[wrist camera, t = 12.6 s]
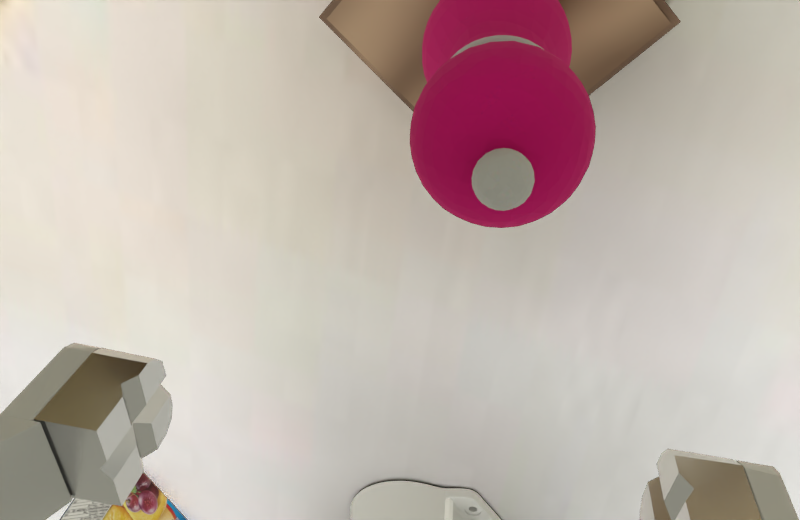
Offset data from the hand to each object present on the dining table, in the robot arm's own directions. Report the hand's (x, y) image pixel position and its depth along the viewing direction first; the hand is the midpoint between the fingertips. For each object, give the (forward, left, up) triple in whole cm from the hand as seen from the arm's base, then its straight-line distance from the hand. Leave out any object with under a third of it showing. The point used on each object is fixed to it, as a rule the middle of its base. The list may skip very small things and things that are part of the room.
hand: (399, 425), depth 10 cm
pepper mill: (-1, 0, -29) cm, 29 cm away
